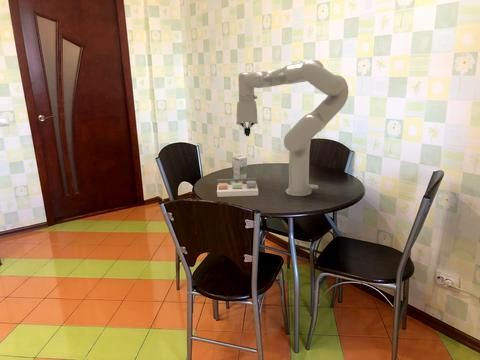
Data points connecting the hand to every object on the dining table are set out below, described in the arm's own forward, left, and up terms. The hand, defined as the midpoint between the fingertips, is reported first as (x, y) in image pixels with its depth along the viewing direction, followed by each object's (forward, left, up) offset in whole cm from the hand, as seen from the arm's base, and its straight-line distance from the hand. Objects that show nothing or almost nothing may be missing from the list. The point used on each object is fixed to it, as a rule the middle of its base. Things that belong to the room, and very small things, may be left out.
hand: (247, 135), depth 189 cm
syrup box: (+4, -10, -27) cm, 29 cm away
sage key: (+6, +8, -24) cm, 26 cm away
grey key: (-1, +8, -23) cm, 25 cm away
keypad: (+6, +8, -27) cm, 29 cm away
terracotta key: (+13, +8, -24) cm, 29 cm away
